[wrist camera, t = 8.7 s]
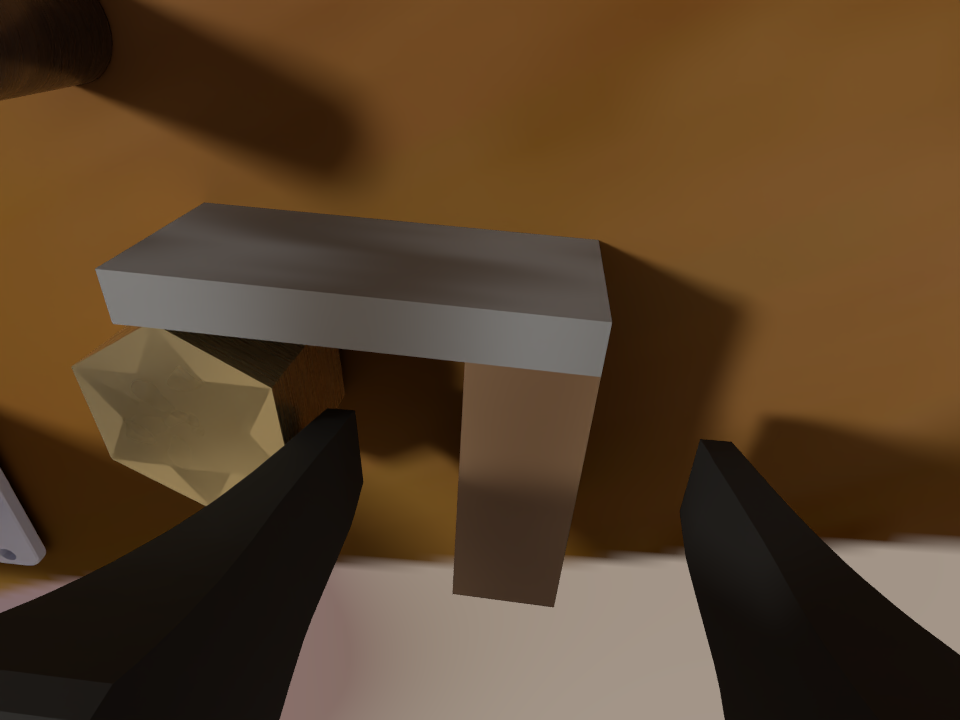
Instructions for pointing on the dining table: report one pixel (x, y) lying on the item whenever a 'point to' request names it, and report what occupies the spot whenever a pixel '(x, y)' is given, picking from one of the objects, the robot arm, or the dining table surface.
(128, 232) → the dining table surface
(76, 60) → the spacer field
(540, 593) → the hook tool
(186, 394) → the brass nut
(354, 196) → the dining table surface
